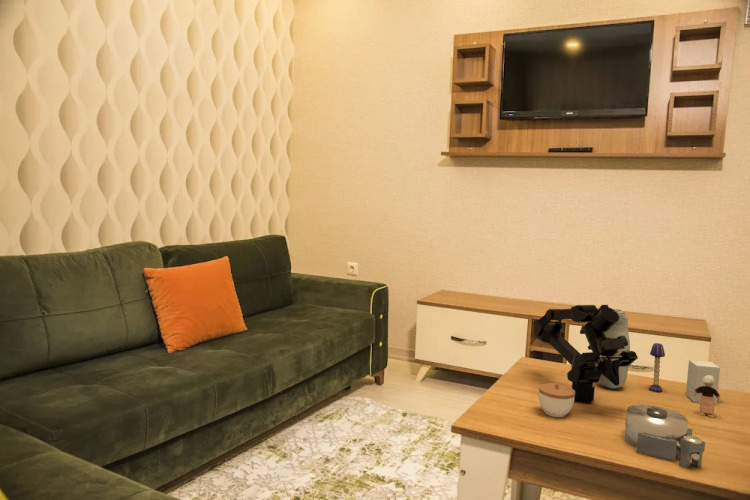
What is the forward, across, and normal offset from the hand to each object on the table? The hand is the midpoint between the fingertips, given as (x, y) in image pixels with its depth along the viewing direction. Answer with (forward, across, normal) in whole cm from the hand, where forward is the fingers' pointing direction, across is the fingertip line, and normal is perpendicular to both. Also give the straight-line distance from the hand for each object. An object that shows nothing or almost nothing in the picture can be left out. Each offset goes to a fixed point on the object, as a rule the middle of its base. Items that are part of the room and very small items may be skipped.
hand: (617, 385), depth 166 cm
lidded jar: (+2, -16, +13) cm, 20 cm away
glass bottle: (-11, +18, +26) cm, 34 cm away
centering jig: (+25, 0, -10) cm, 27 cm away
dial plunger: (+25, 0, -13) cm, 29 cm away
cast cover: (+19, 0, -4) cm, 19 cm away
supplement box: (0, +42, +15) cm, 44 cm away
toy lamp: (-7, +32, +23) cm, 40 cm away
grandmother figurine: (+8, +32, +7) cm, 34 cm away
